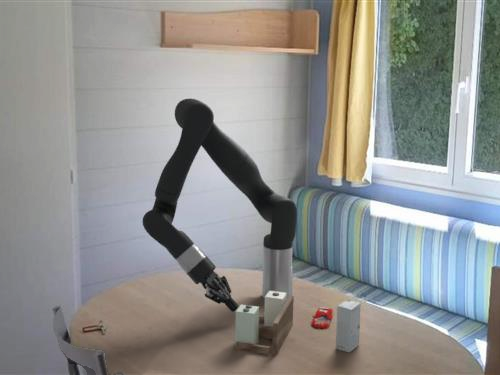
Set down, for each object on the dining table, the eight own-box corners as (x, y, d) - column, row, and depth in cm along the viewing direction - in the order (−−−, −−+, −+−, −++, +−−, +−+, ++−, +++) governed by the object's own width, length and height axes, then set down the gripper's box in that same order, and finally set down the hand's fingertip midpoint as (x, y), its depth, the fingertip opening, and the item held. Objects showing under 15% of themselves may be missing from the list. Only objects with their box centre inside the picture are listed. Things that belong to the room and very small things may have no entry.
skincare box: (349, 353, 167) (352, 310, 165) (334, 348, 170) (336, 305, 167) (359, 344, 172) (362, 302, 170) (344, 340, 175) (347, 298, 172)
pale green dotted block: (235, 346, 167) (235, 310, 165) (240, 339, 171) (241, 303, 169) (253, 349, 165) (254, 312, 163) (258, 341, 170) (259, 305, 168)
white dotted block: (264, 330, 177) (264, 295, 175) (268, 323, 181) (269, 289, 179) (281, 333, 175) (282, 297, 173) (285, 326, 180) (286, 291, 178)
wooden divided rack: (221, 351, 167) (221, 315, 165) (242, 322, 185) (242, 290, 183) (276, 359, 163) (277, 323, 161) (292, 329, 181) (293, 296, 179)
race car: (327, 336, 178) (328, 322, 177) (308, 333, 180) (309, 320, 179) (335, 317, 190) (336, 304, 189) (317, 314, 192) (318, 302, 191)
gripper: (196, 263, 174) (238, 310, 173) (212, 249, 186) (251, 293, 185) (178, 279, 176) (219, 326, 175) (195, 264, 189) (233, 308, 188)
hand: (236, 309), depth 180 cm, fingers closed
